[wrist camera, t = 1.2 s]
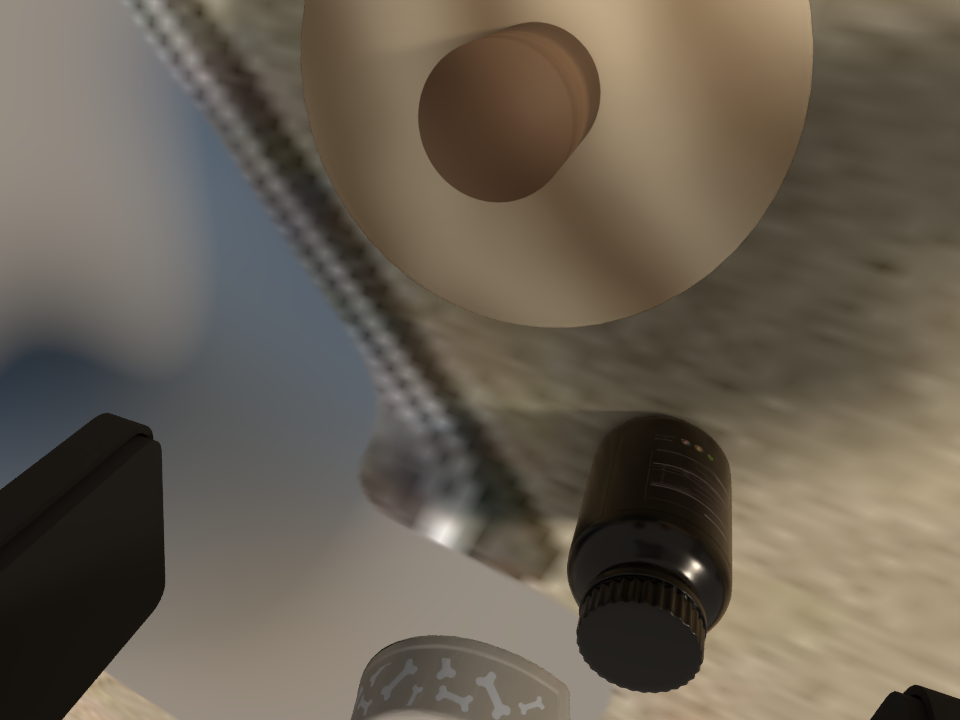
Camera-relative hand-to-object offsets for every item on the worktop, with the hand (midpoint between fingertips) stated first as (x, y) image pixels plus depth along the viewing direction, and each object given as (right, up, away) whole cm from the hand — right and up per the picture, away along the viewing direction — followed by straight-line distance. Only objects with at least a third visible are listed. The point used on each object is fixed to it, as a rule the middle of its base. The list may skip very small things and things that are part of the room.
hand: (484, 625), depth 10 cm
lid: (+2, +13, +17) cm, 21 cm away
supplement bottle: (+9, -2, +30) cm, 31 cm away
